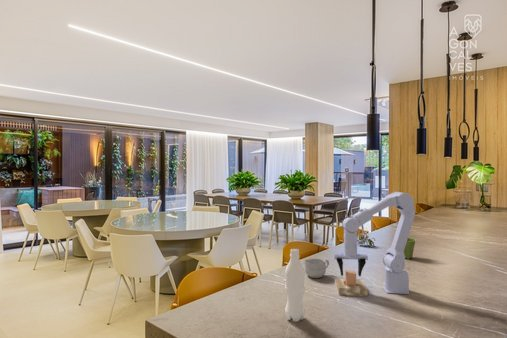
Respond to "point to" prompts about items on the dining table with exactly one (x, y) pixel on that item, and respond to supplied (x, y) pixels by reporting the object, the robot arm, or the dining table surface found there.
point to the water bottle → (294, 287)
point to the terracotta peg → (350, 278)
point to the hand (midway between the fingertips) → (350, 275)
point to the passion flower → (364, 239)
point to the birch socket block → (351, 288)
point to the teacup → (316, 267)
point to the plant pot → (409, 248)
